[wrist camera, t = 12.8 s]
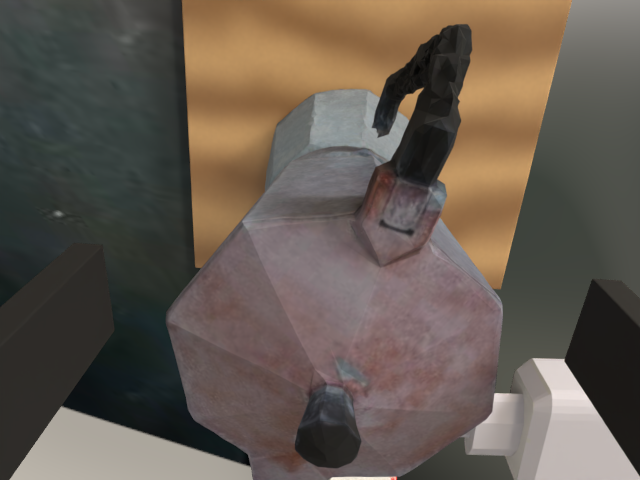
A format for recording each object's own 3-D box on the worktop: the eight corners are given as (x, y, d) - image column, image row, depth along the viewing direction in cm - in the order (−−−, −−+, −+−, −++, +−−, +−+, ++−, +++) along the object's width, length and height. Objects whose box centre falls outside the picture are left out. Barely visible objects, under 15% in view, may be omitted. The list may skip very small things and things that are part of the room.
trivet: (182, -94, 24) (176, -98, 24) (580, -67, 24) (590, -71, 23) (198, 260, 33) (194, 267, 32) (496, 282, 33) (500, 289, 32)
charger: (440, 349, 35) (653, 354, 34) (428, 444, 39) (620, 450, 38) (455, 396, 31) (698, 402, 30) (440, 497, 34) (656, 504, 34)
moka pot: (239, 255, 31) (102, 583, 13) (288, -6, 25) (154, -76, 7) (382, 287, 32) (442, 644, 14) (465, 40, 26) (782, 91, 7)
